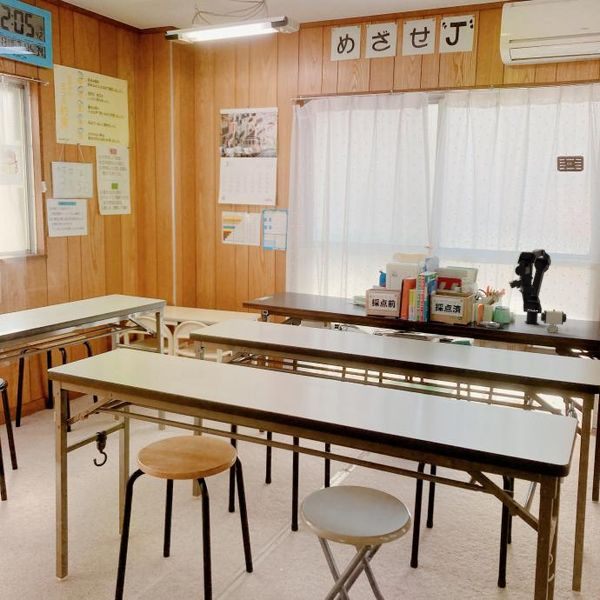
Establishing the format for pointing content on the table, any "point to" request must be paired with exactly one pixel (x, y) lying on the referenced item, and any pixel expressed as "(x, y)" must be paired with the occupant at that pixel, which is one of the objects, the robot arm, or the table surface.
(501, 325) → the stop peg
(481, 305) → the crank
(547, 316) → the pneumatic valve
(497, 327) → the hub plate
